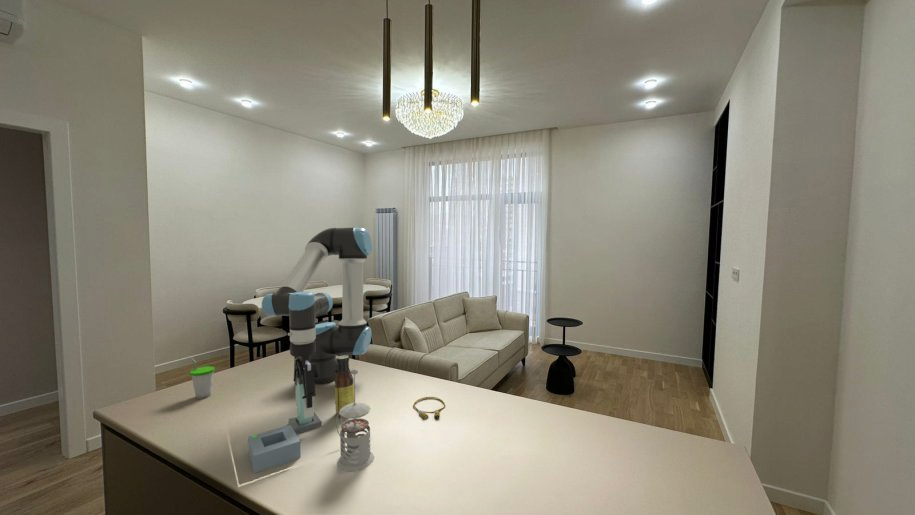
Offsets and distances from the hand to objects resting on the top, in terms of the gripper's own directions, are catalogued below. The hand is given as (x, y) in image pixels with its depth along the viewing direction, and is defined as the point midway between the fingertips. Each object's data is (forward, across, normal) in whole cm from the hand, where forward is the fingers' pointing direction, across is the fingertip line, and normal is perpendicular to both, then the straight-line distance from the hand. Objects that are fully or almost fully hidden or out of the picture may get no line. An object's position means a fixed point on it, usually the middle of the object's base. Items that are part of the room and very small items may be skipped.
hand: (304, 410), depth 115 cm
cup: (+5, -47, -25) cm, 53 cm away
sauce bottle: (+5, 0, +13) cm, 14 cm away
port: (+5, +12, -11) cm, 17 cm away
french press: (+5, +26, +6) cm, 27 cm away
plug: (+5, 0, 0) cm, 5 cm away
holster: (+5, 0, 0) cm, 5 cm away
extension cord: (+6, +13, +38) cm, 41 cm away
